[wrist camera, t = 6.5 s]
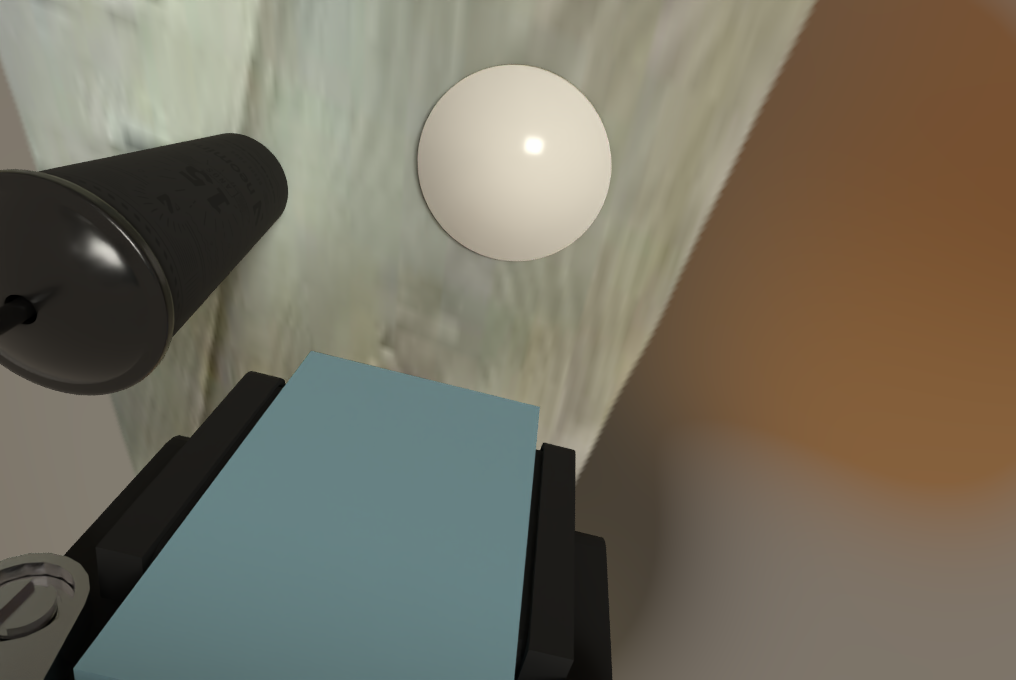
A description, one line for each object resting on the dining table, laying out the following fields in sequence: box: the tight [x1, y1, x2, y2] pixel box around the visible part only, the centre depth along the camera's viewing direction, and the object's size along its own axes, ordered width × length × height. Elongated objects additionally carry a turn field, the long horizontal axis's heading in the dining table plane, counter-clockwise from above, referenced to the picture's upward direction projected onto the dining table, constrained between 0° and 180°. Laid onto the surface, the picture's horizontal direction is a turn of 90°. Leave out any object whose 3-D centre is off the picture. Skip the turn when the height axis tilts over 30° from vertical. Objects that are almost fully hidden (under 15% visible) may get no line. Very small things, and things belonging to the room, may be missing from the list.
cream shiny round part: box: [418, 64, 611, 261], centre depth 31 cm, size 9×9×1 cm
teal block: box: [73, 351, 540, 680], centre depth 10 cm, size 4×4×6 cm
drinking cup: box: [0, 133, 288, 395], centre depth 24 cm, size 8×8×20 cm
